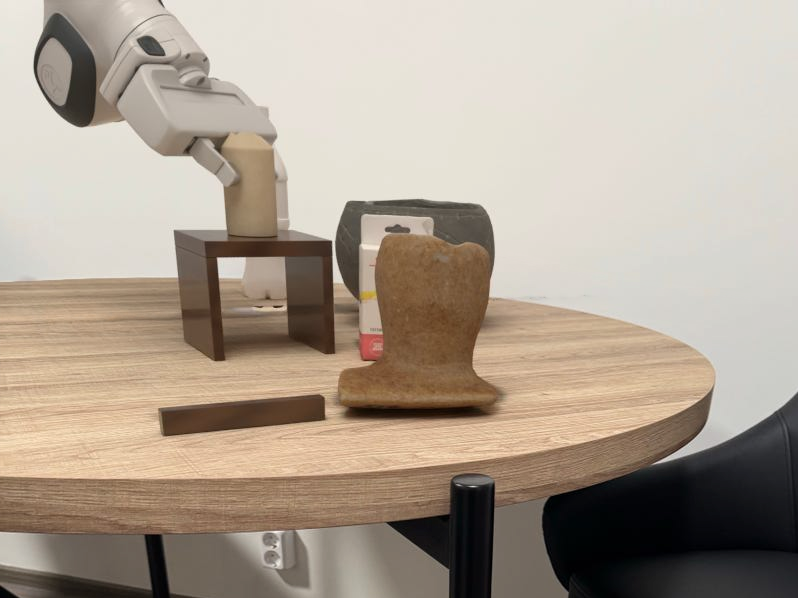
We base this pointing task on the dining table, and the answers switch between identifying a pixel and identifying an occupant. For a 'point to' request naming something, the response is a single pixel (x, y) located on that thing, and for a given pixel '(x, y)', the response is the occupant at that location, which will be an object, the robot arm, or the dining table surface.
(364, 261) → the ink cartridge box
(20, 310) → the dining table surface
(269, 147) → the candle
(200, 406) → the rail
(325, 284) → the shelf unit
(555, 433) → the dining table surface
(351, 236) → the bowl
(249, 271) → the water bottle
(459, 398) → the tan flared-base block
